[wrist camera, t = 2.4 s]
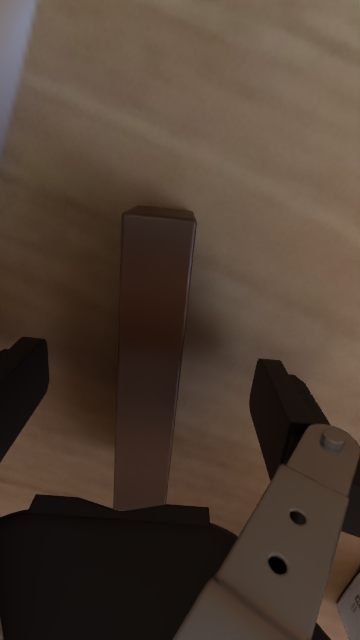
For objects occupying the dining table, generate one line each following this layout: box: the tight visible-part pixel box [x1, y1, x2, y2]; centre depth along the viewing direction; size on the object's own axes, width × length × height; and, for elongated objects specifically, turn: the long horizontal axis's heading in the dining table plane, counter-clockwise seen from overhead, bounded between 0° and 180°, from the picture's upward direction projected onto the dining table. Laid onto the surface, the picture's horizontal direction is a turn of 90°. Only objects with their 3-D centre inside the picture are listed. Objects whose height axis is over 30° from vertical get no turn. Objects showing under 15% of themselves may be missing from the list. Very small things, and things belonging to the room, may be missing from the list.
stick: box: [113, 206, 197, 511], centre depth 12 cm, size 11×2×3 cm, turn 175°
